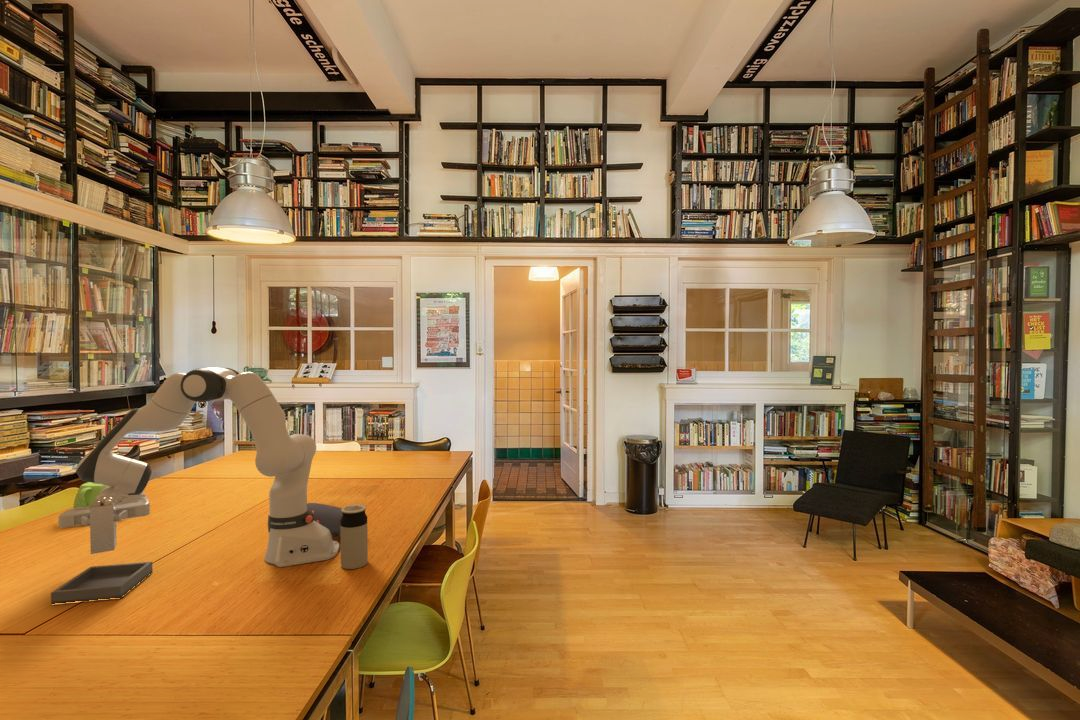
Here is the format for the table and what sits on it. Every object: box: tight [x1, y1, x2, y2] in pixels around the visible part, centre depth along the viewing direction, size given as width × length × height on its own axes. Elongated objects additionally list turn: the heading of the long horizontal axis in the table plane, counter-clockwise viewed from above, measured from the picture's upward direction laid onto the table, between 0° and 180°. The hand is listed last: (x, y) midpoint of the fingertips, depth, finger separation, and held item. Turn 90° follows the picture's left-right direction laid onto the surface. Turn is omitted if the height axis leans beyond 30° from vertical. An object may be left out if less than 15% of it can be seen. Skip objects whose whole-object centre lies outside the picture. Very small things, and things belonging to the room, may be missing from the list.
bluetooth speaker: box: [307, 502, 343, 537], centre depth 184 cm, size 23×9×10 cm, turn 62°
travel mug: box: [340, 504, 369, 570], centre depth 158 cm, size 8×8×18 cm
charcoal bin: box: [50, 561, 154, 605], centre depth 142 cm, size 16×16×4 cm
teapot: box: [72, 482, 108, 509], centre depth 205 cm, size 25×22×16 cm
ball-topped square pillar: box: [89, 497, 117, 555], centre depth 142 cm, size 5×5×15 cm
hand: (102, 520), depth 141 cm, fingers closed on ball-topped square pillar, 5 cm apart
